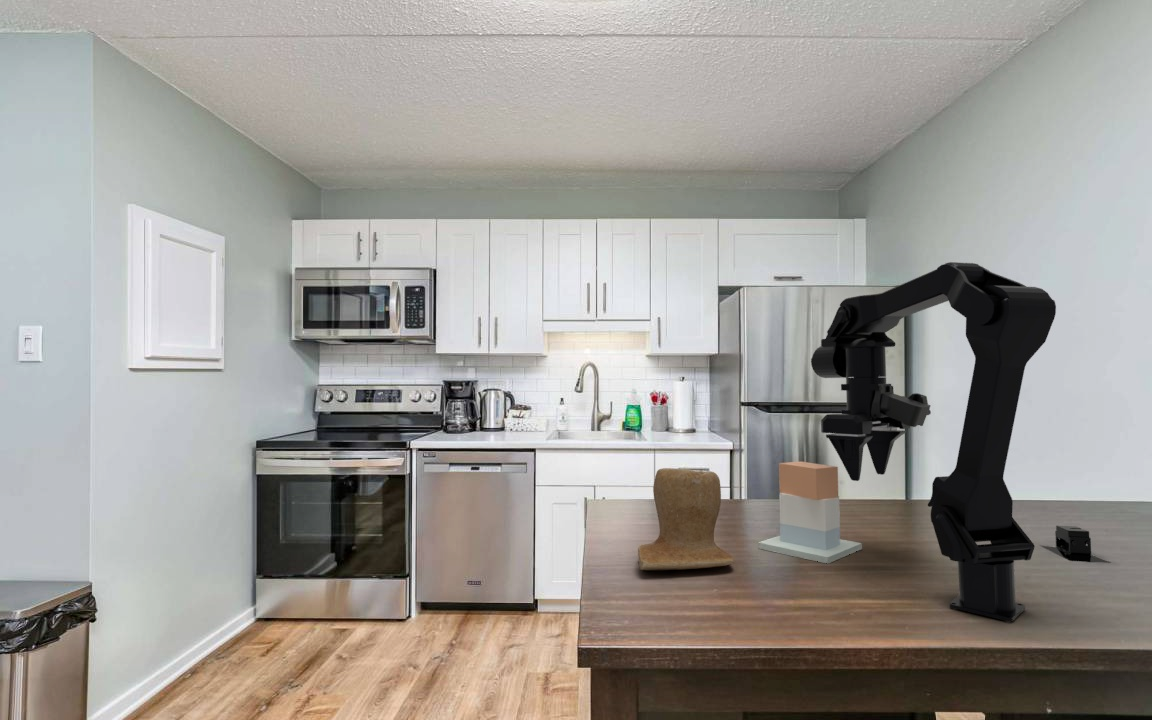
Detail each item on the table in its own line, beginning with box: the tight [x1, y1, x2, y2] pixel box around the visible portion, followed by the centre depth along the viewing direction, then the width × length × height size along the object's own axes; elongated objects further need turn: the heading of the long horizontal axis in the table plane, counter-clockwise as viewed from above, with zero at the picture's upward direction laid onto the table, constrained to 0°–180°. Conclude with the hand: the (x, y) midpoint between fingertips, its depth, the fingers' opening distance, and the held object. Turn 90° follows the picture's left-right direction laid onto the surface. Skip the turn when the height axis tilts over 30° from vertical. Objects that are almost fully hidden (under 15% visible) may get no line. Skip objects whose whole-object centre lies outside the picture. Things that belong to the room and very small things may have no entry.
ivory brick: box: [778, 492, 841, 532], centre depth 102 cm, size 5×8×5 cm, turn 42°
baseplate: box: [757, 522, 863, 564], centre depth 102 cm, size 12×12×4 cm
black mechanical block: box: [1039, 525, 1112, 564], centre depth 98 cm, size 12×7×5 cm, turn 167°
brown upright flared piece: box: [637, 467, 735, 571], centre depth 94 cm, size 15×12×15 cm
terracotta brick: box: [778, 460, 839, 500], centre depth 102 cm, size 5×8×5 cm, turn 26°
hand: (868, 477), depth 95 cm, fingers open, 9 cm apart
